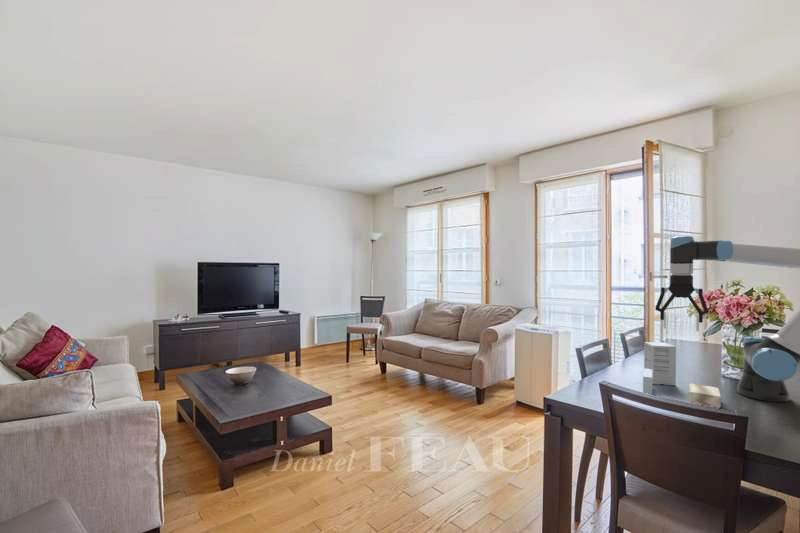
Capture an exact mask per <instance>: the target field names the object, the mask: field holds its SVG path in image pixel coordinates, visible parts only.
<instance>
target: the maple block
mask: <svg viewBox="0 0 800 533" xmlns="http://www.w3.org/2000/svg"><path fill="white" fill-rule="evenodd" d="M688 401H689V402H691V403H695V404H701V405H708V406H710V405H713V406H716V407H721V406H722V404H721V403H722V402H721V401H722V398H721V392H720V389H719V387H716V386H709V385H703V384H697V383H688ZM689 402H688V403H689ZM721 408H722V407H721Z"/></svg>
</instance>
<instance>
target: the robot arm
mask: <svg viewBox="0 0 800 533" xmlns="http://www.w3.org/2000/svg"><path fill="white" fill-rule="evenodd" d="M669 246H670V248H669V254H670V257H669V260H670V263H669V273H670V275H669V286H668V287H667V286H666V287H663V286H661V287H660V294H659V297H658V300H657V303H656V305H655V311H656V312H659V313H660V314H659V316H660V321H663V329H665V330H666V329H667V312H666V310H667V308H668V307H669V306H670V304H671V303H672V302H673V300H674V299H675V298H678V299H679V298H684V299H686V298H688V300H689V302H690V303H691V304H692V306H693V308H695V310H696V311H697V313H696V314H695V330H696V331H697V332H699V331H700V324H701V323H703V322H704V321H703V320H704V317H703V316H704V315H705V314H708V313H710V312H709V309H708V306H707V303H706V301H705V298H704V295H703V294H704V293H703V291H704V290H703V288H701V287H700V288H696V287H694V276H693V274H694V260H695V261H701V260H702V261H715V262H716V261H717V262H728V263H735V264H736V263H739V264H747V265H748V264H749V265H760V266H768V267H777V268H779V267H780V268H789V269H796V270H798V269H799V270H800V248H797V247H796V248H794V247H783V246H782V247H781V246H767V245H758V244H757V245H755V244H754V245H753V244H742V243H733V242H732V241H731V240H721V239H720V240H701V241H700V240H695V239H694V237H693V236H691V235H688V236H686V235H685V236H684V235H683V236H680V235H679V236H674V237H672V238H671V239H670V245H669ZM668 291H669V292H670V293H671V295H670V296H669V297H668V298H667V300H666V302H665V303H664V305H662V307H661V304H662V302H663V299H664V297H665V293H667V292H668ZM693 292H695V294H697V295H698V298H699V300H700V304H701V306H702V309H703V310H701V308H700V307H699V305H698V304H697V303H696V301H695V299H694V297H692V294H693ZM742 346H743V350H742V352H743V355H742V356H743V357H742V360H743V362H742V365H743V366H742V367H743V369H742V375H741V378H740V379H739V382H738V384H737V386H736V389H737V390H736V391H737V393H738V394H739V395H742V396H745V397H747V398H750V399H754V400H758V401H759V400H760V401H765V402H773V403H786V402H789V401H790V393H789V390H788V387H787V385H786V383H785V381H786V380H789V379H792V378H793V377H794V376H795V375H796V374H797V372H798V369H799V364H800V307H799V308H798V309H797V310H796V311H795V312H794V313H793V314H792V316H790V318H789V319H787V321H786V323H784V324H783V325H782V326H781V328H779V329H778V331H777V332H776V333H775V334H770V335H766V336H765V337H756V336H745V337H744V338H743V343H742Z"/></svg>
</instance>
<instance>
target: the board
mask: <svg viewBox="0 0 800 533" xmlns="http://www.w3.org/2000/svg"><path fill="white" fill-rule="evenodd" d="M642 376H643V377H642V393H643V392H644V393H648V394H652V395H653V384H652V379H653V369H646V368H644V367H643V374H642Z"/></svg>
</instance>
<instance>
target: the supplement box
mask: <svg viewBox="0 0 800 533" xmlns="http://www.w3.org/2000/svg"><path fill="white" fill-rule="evenodd" d="M643 347H644V348H643V351H644V352H643V354H644V355H643V356H644V357H643V358H644V361H643V369H644V368H646V369H653V379H652V385H660V384H664V386H676V385H677V384H676V381H677V380H676V379H677V378H676V377H677V376H676V375H677V373H676V372H677V363H676V362H677V361H676V360H677V359H676V358H677V356H676V355H677V351H676V350H677V346H675V345H672V344H670V343H668V342H662V341H661V342H660V341H659V342H658V341H657V342H656V341H654V342H653V341H644V343H643Z"/></svg>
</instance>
